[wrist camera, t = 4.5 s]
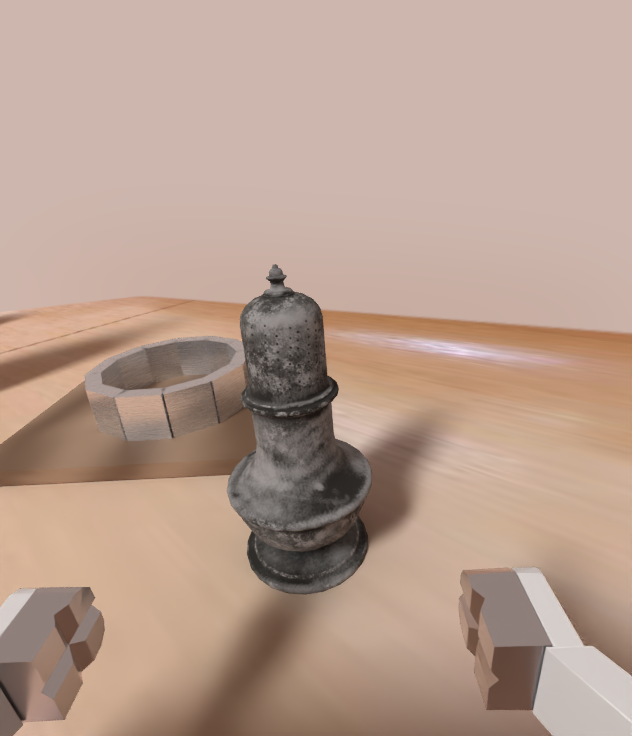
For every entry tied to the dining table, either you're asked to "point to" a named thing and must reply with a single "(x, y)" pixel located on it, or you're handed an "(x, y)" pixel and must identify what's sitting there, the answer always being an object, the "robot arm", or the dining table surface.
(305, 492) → the salt shaker
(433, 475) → the dining table surface
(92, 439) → the walnut board
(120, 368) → the steel collar
